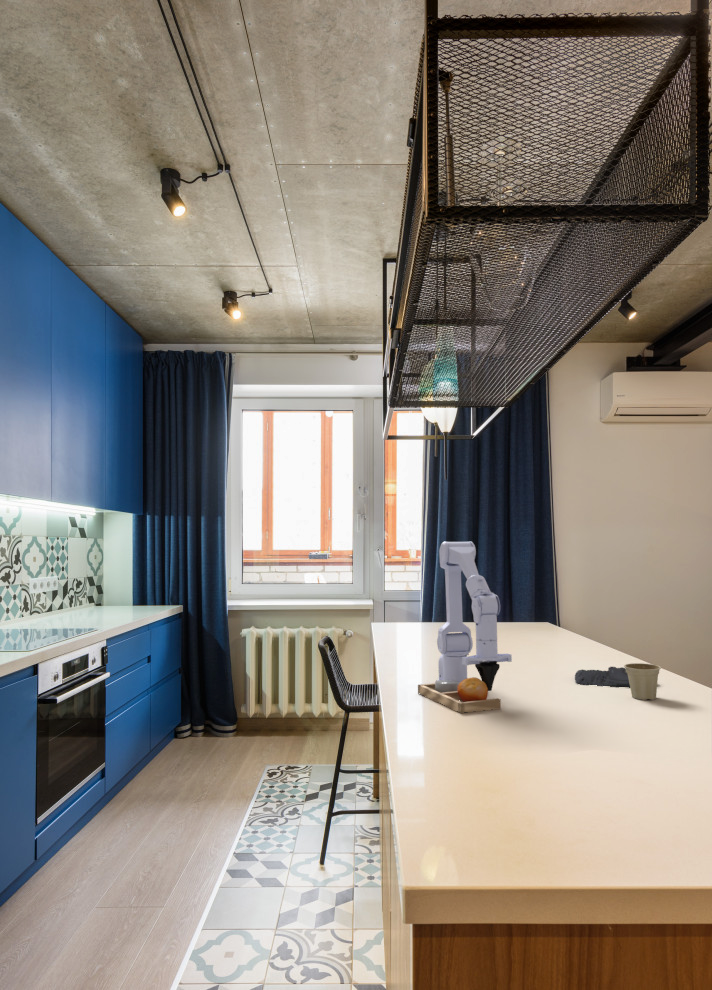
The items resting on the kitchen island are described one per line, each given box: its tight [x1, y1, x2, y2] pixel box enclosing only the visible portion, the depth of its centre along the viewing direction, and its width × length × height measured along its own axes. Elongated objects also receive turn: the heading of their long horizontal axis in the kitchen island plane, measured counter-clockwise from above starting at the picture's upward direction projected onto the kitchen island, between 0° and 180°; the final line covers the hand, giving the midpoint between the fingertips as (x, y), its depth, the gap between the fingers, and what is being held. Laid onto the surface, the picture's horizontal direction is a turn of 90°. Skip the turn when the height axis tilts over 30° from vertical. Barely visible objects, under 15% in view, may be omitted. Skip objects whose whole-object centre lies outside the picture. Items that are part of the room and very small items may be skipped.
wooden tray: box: [417, 682, 502, 714], centre depth 181 cm, size 24×12×2 cm, turn 21°
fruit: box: [457, 676, 489, 702], centre depth 177 cm, size 8×8×8 cm
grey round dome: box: [434, 679, 459, 693], centre depth 187 cm, size 7×7×4 cm
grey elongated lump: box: [574, 666, 630, 689], centre depth 203 cm, size 15×22×5 cm
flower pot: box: [623, 662, 662, 701], centre depth 183 cm, size 9×9×9 cm
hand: (487, 690), depth 178 cm, fingers closed
